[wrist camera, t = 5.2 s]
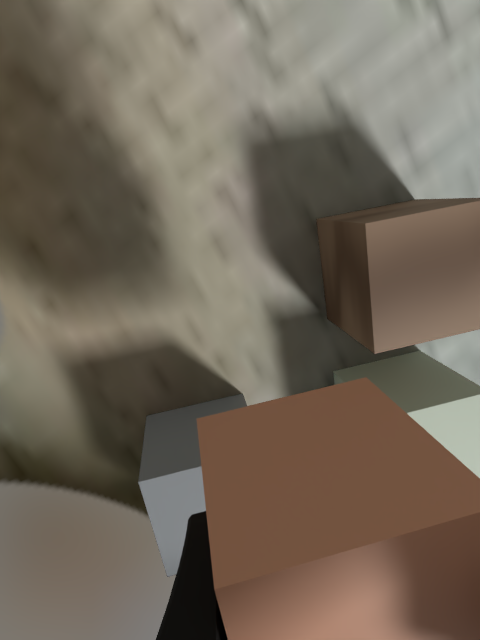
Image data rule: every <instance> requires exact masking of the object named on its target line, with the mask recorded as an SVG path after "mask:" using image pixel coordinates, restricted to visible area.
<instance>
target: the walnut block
mask: <svg viewBox="0 0 480 640" xmlns="http://www.w3.org/2000/svg"><path fill="white" fill-rule="evenodd" d="M316 220H317V229H318V238H319V248H320V257H321V266H322V275H323V284H324V293H325V302H326V311H327V319H328V320H330V321H331V322H332V323H334V324H335V325H336V326H338V327H339V328H340V329H342V330H343V331H345V332H346V333H347V334H349V335H350V336H351V337H353V338H354V339H355V340H357V341H358V342H359V343H361V344H362V345H363V346H365V347H366V348H367V349H369V350H370V351H371V352H373V353H374V354H377V353H381V352H385V351H389V350H394V349H398V348H402V347H406V346H411V345H415V344H419V343H423V342H427V341H432V340H436V339H440V338H444V337H448V336H453V335H457V334H461V333H465V332H470V331H474V330H478V329H480V198H459V199H419V200H410V201H405V202H400V203H395V204H390V205H385V206H380V207H375V208H370V209H364V210H359V211H354V212H349V213H344V214H339V215H334V216H329V217H324V218H319V219H316Z"/></svg>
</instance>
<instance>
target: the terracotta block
mask: <svg viewBox="0 0 480 640" xmlns="http://www.w3.org/2000/svg"><path fill="white" fill-rule="evenodd" d="M197 429H198V438H199V448H200V457H201V467H202V476H203V486H204V495H205V505H206V514H207V524H208V533H209V543H210V553H211V562H212V572H213V581H214V590H215V594H216V597H217V601H218V605H219V609H220V612H221V616H222V620H223V623H224V627H225V631H226V635H227V638H228V640H480V478H479V477H478V476H476V475H475V474H474V473H473V472H472V471H471V470H470V469H469V468H467V467H466V466H465V465H464V464H463V463H462V462H461V461H460V460H458V459H457V458H456V457H455V456H454V455H453V454H452V453H451V452H450V451H448V450H447V449H446V448H445V447H444V446H443V445H442V444H441V443H439V442H438V441H437V440H436V439H435V438H434V437H433V436H432V435H430V434H429V433H428V432H427V431H426V430H425V429H424V428H423V427H421V426H420V425H419V424H418V423H417V422H416V421H415V420H414V419H412V418H411V417H410V416H409V415H408V414H407V413H406V412H405V411H404V410H402V409H401V408H400V407H399V406H398V405H397V404H396V403H395V402H393V401H392V400H391V399H390V398H389V397H388V396H387V395H386V394H384V393H383V392H382V391H381V390H380V389H379V388H378V387H377V386H375V385H374V384H373V383H372V382H371V381H370V380H369V379H368V378H367V377H365V378H361V379H357V380H353V381H348V382H344V383H340V384H336V385H332V386H328V387H324V388H320V389H316V390H312V391H308V392H303V393H299V394H295V395H291V396H287V397H283V398H279V399H275V400H271V401H267V402H263V403H258V404H254V405H250V406H246V407H242V408H238V409H234V410H230V411H226V412H222V413H218V414H214V415H209V416H205V417H201V418H197Z"/></svg>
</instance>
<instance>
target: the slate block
mask: <svg viewBox="0 0 480 640" xmlns="http://www.w3.org/2000/svg"><path fill="white" fill-rule="evenodd" d="M246 406H247V404H246V401H245V399H244V396H243V394H238V395H234V396H230V397H226V398H221V399H217V400H213V401H208V402H204V403H200V404H195V405H191V406H187V407H183V408H178V409H174V410H170V411H165V412H161V413H157V414H153V415H148V416H147V417H146V425H145V433H144V441H143V449H142V457H141V465H140V473H139V481H138V483H139V486H140V489H141V492H142V496H143V499H144V502H145V505H146V509H147V512H148V515H149V518H150V522H151V525H152V528H153V531H154V534H155V538H156V541H157V545H158V547H159V551H160V554H161V558H162V561H163V564H164V567H165V571H166V574H167V577H169V576H173V575H176V574H177V571H178V567H179V563H180V559H181V555H182V551H183V546H184V541H185V536H186V531H187V524H188V519H189V517H190V516H191V515H192V514H196V513H200V512H203V511H206V505H205V495H204V486H203V476H202V467H201V457H200V448H199V438H198V429H197V418H201V417H205V416H209V415H214V414H218V413H222V412H226V411H230V410H234V409H238V408H242V407H246Z"/></svg>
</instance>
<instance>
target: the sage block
mask: <svg viewBox="0 0 480 640" xmlns="http://www.w3.org/2000/svg"><path fill="white" fill-rule="evenodd" d="M333 374H334V383H335V385H336V384H340V383H344V382H348V381H353V380H357V379H361V378H365V377H367V378H368V379H369V380H370V381H371V382H372V383H373V384H374V385H375V386H377V387H378V388H379V389H380V390H381V391H382V392H383V393H384V394H386V395H387V396H388V397H389V398H390V399H391V400H392V401H393V402H395V403H396V404H397V405H398V406H399V407H400V408H401V409H402V410H404V411H405V412H406V413H407V414H408V415H409V416H410V417H411V418H412V419H414V420H415V421H416V422H417V423H418V424H419V425H420V426H421V427H423V428H424V429H425V430H426V431H427V432H428V433H429V434H430V435H432V436H433V437H434V438H435V439H436V440H437V441H438V442H439V443H441V444H442V445H443V446H444V447H445V448H446V449H447V450H448V451H450V452H451V453H452V454H453V455H454V456H455V457H456V458H457V459H458V460H460V461H461V462H462V463H463V464H464V465H465V466H466V467H467V468H469V469H470V470H471V471H472V472H473V473H474V474H475V475H476V476H478V477H479V478H480V386H479V385H477V384H475V383H474V382H472V381H470V380H469V379H467V378H465V377H464V376H462V375H460V374H458V373H457V372H455V371H453V370H452V369H450V368H448V367H447V366H445V365H443V364H442V363H440V362H438V361H436V360H435V359H433V358H431V357H430V356H428V355H426V354H425V353H423V352H421V351H416V352H412V353H408V354H403V355H399V356H395V357H391V358H387V359H383V360H378V361H374V362H370V363H366V364H362V365H358V366H353V367H349V368H345V369H341V370H337V371H333Z"/></svg>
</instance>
